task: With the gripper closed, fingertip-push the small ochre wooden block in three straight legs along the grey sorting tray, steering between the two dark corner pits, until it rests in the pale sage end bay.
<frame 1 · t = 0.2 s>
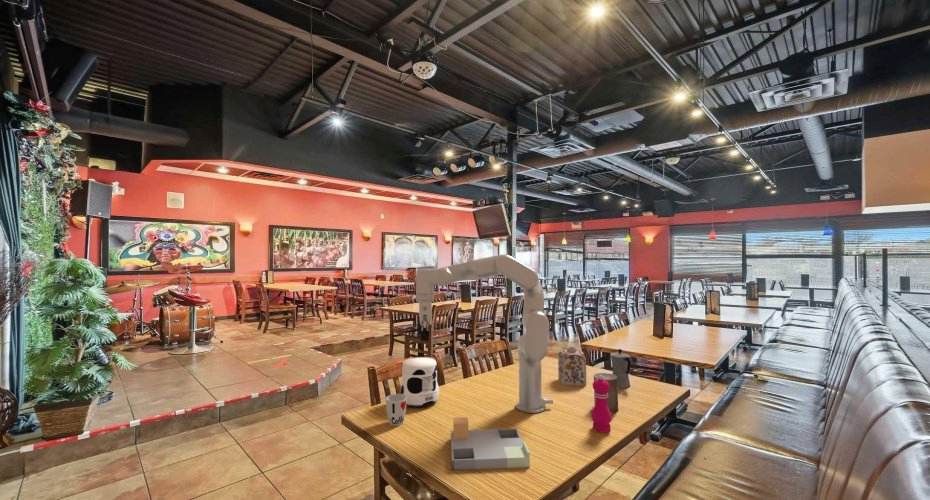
hand: (425, 337, 162), 31 cm above the table, tool pointing down, fingers open, 9 cm apart
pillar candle: (605, 408, 164), on the table
grey sorting tray: (487, 452, 127), on the table
decorative jar: (572, 382, 197), on the table
pepper mill: (601, 429, 144), on the table
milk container: (419, 402, 172), on the table
cup: (396, 423, 150), on the table
block: (460, 434, 133), point 3 cm above the table, touching grey sorting tray
coffeepot: (621, 386, 192), on the table
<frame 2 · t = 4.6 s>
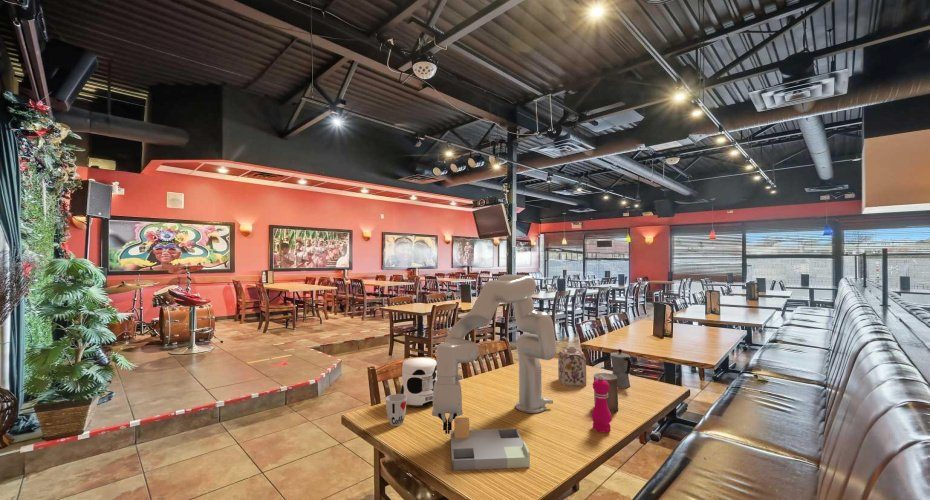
hand: (447, 432, 133), 4 cm above the table, tool pointing down, fingers closed
block: (461, 434, 133), point 3 cm above the table, touching grey sorting tray, gripper
everything else where it was.
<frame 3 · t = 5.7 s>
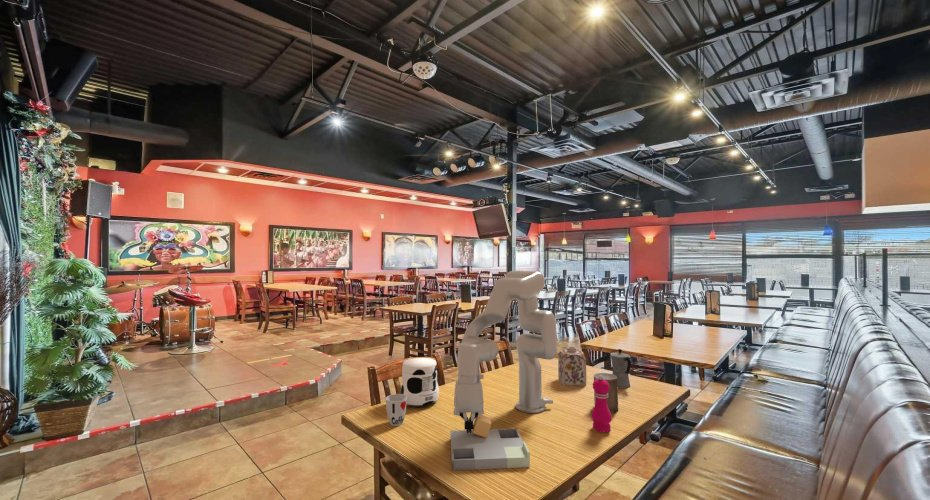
hand: (468, 431, 134), 4 cm above the table, tool pointing down, fingers closed
block: (479, 432, 134), point 4 cm above the table, tilted 20°, touching gripper
everything else where it was.
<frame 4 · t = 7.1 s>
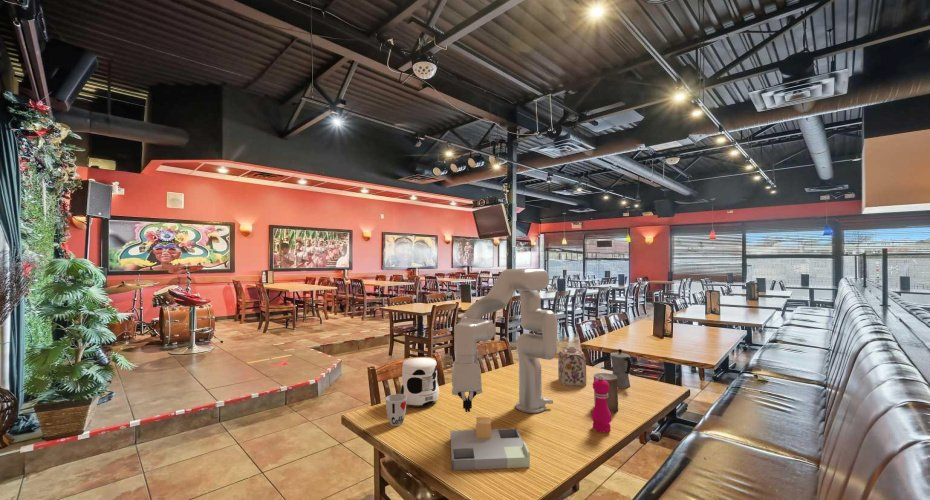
hand: (467, 410, 134), 11 cm above the table, tool pointing down, fingers closed
block: (483, 434, 134), point 3 cm above the table, touching grey sorting tray
everything else where it was.
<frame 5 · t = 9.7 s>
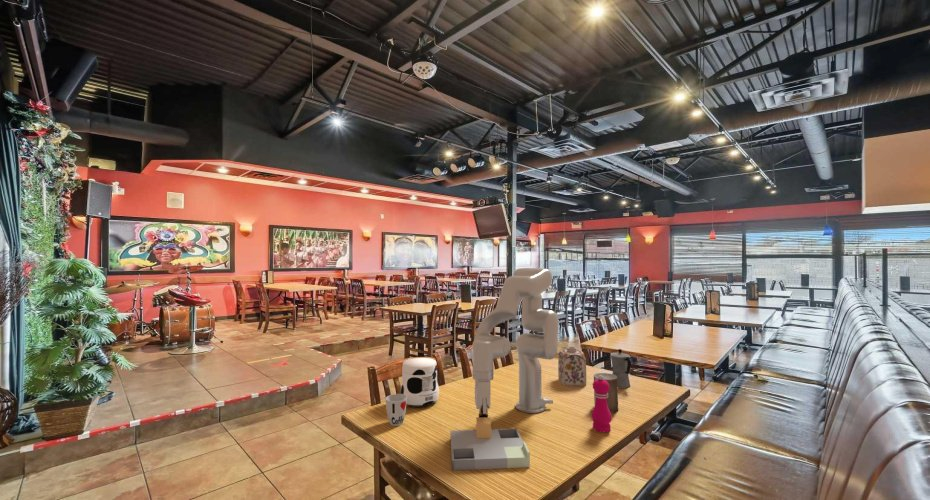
hand: (483, 425, 138), 4 cm above the table, tool pointing down, fingers closed
block: (483, 434, 133), point 3 cm above the table, touching gripper
everything else where it was.
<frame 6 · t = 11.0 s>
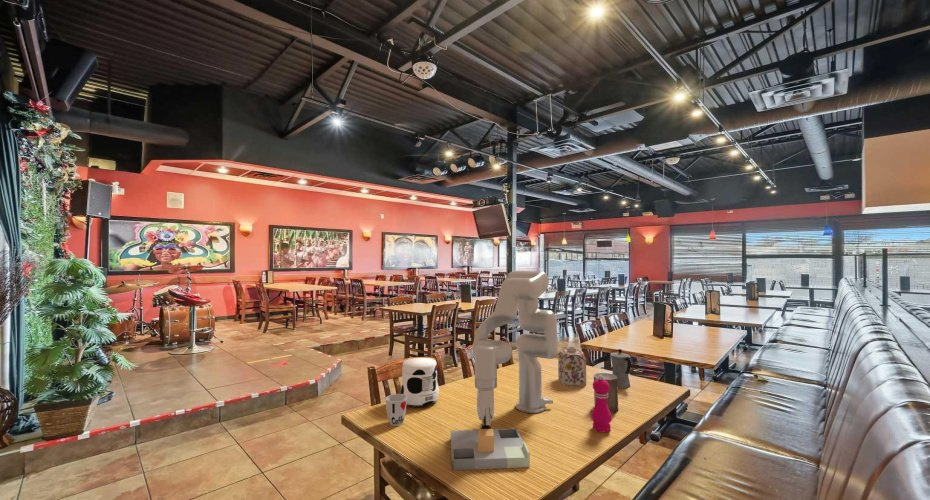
hand: (486, 436, 129), 4 cm above the table, tool pointing down, fingers closed
block: (485, 447, 124), point 3 cm above the table, touching gripper
everything else where it was.
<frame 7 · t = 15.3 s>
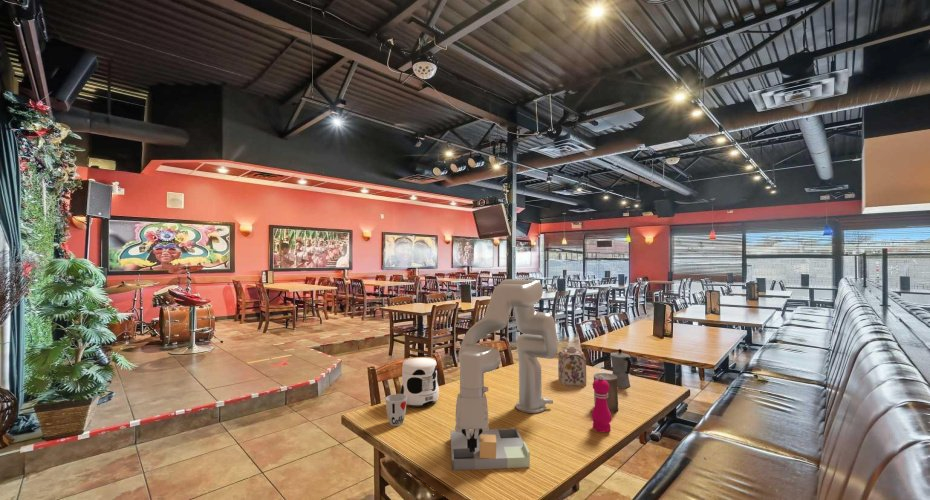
hand: (472, 449, 121), 4 cm above the table, tool pointing down, fingers closed
block: (487, 454, 120), point 3 cm above the table, touching grey sorting tray, gripper
everything else where it was.
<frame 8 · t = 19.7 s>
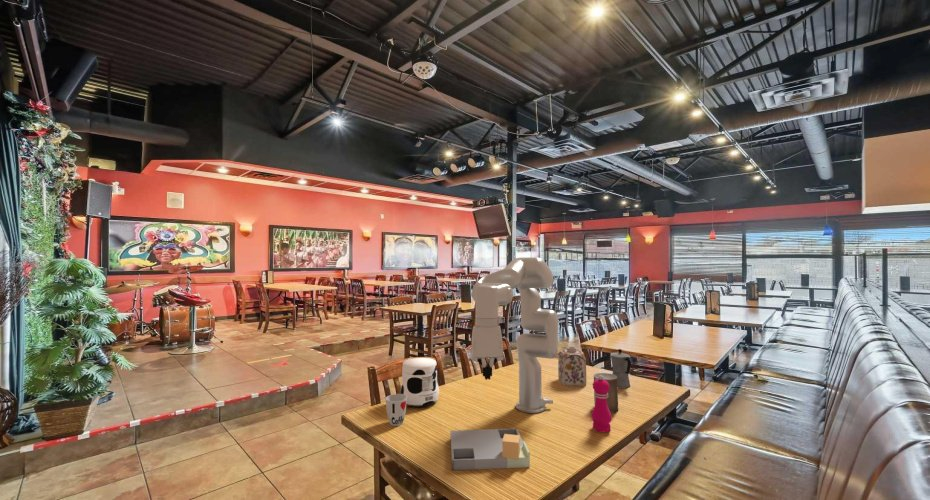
hand: (487, 378, 126), 25 cm above the table, tool pointing down, fingers closed
block: (511, 454, 120), point 3 cm above the table, touching grey sorting tray
everything else where it was.
at the end: block inside the target area (1.5 cm from its centre), point 3.0 cm above the table; block tilted 0°; block touching grey sorting tray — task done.
